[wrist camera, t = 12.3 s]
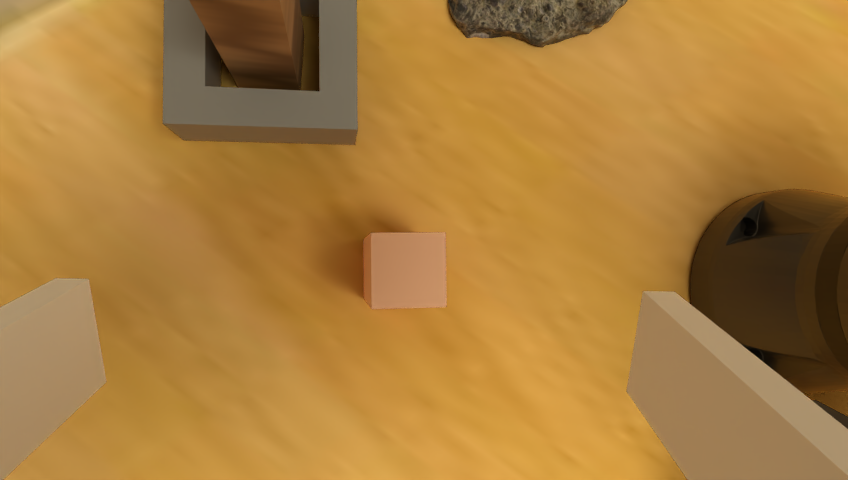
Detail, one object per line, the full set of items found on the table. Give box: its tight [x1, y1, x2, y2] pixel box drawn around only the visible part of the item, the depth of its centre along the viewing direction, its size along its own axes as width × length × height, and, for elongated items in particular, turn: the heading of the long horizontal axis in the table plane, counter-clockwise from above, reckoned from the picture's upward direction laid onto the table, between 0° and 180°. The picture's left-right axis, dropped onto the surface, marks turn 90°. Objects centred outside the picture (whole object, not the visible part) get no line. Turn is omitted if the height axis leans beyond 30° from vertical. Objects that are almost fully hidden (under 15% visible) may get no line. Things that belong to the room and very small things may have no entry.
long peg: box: [189, 0, 305, 90], centre depth 27 cm, size 4×4×14 cm
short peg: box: [363, 232, 447, 309], centre depth 31 cm, size 4×4×8 cm
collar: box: [163, 0, 358, 145], centre depth 32 cm, size 11×11×4 cm
